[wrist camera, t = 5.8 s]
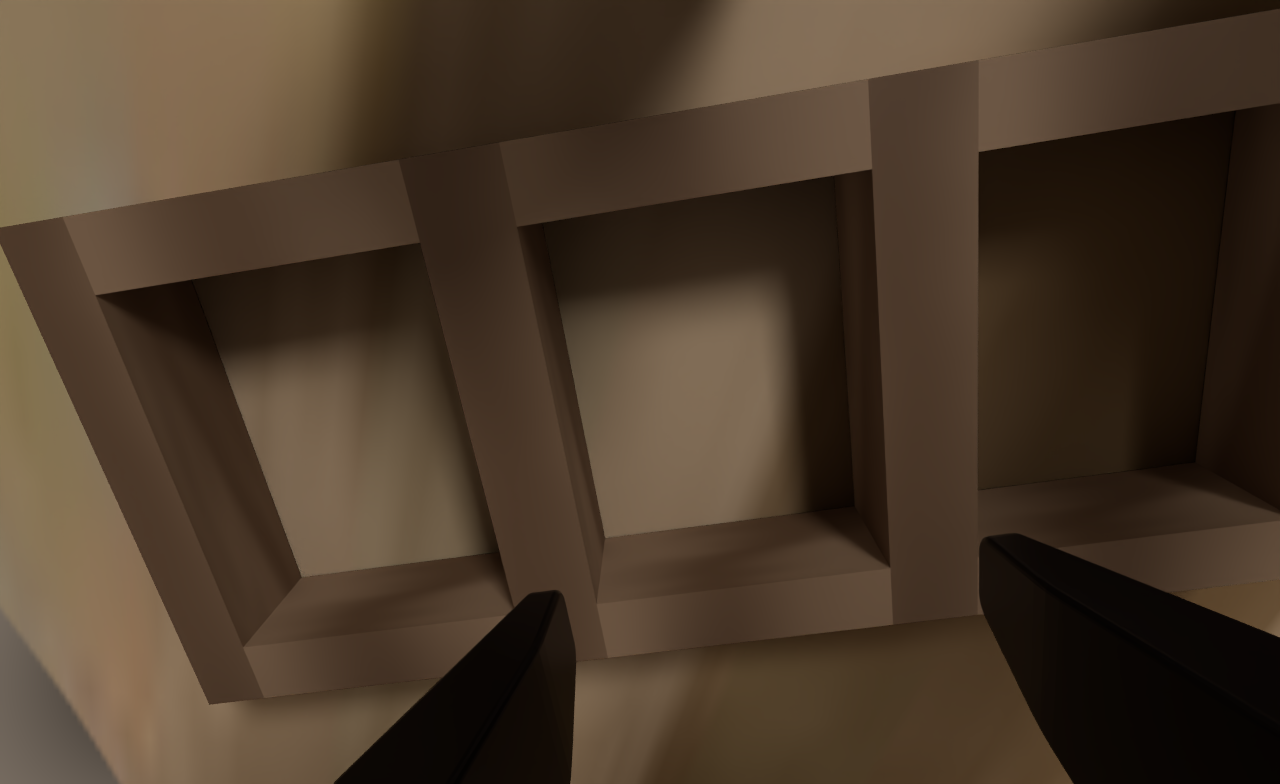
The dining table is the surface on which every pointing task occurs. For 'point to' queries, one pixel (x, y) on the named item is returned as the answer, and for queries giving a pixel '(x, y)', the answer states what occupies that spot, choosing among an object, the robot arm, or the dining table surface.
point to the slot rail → (546, 397)
